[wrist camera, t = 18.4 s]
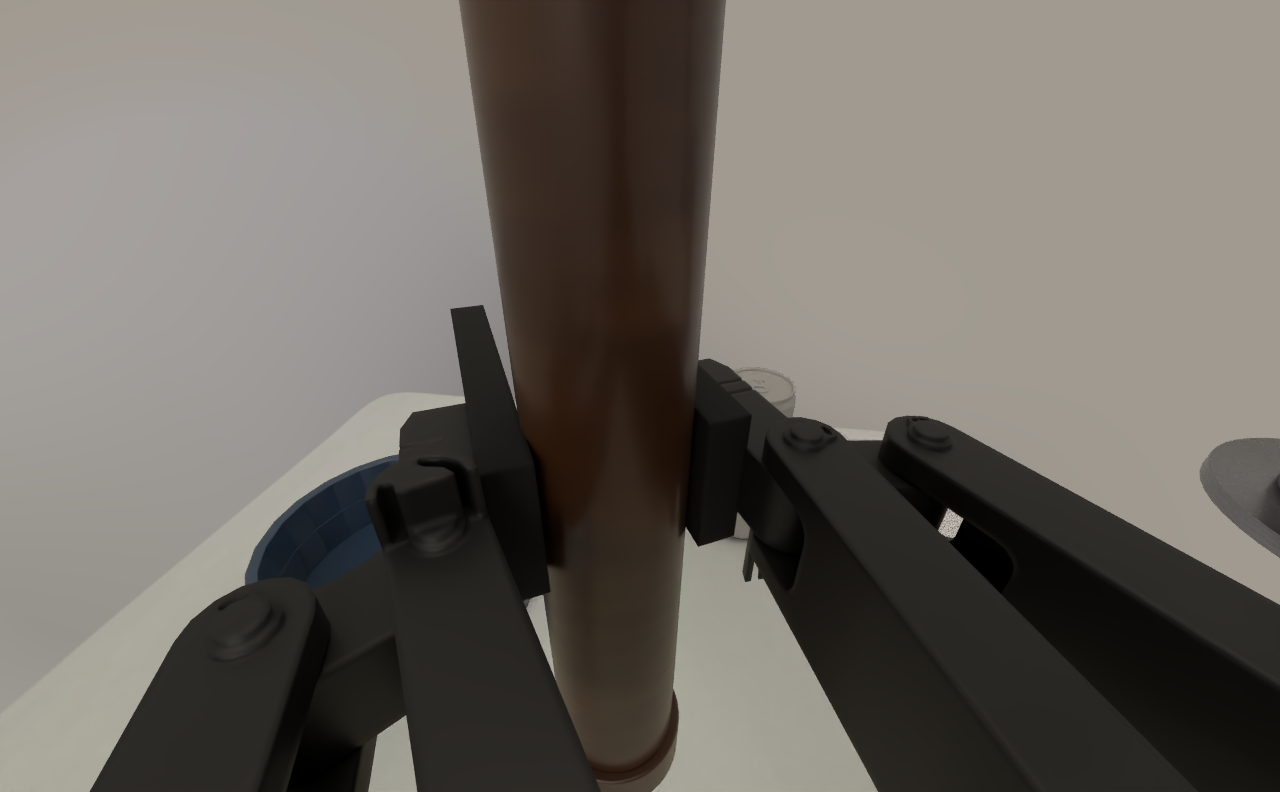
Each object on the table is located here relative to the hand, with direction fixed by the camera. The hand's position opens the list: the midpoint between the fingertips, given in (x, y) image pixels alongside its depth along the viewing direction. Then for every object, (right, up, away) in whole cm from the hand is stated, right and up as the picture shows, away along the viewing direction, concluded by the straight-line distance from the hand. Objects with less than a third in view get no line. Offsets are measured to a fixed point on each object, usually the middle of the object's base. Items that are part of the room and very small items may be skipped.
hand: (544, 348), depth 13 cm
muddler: (+2, -10, 0) cm, 11 cm away
